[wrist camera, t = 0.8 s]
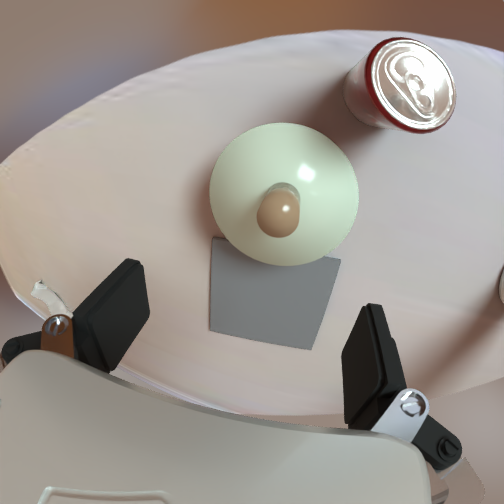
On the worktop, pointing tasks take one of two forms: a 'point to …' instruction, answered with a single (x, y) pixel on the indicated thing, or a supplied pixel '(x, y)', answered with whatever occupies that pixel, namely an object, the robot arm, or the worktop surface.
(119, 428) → the robot arm
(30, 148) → the worktop surface
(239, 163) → the lid
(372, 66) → the soda can
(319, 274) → the mat
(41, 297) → the fabric
